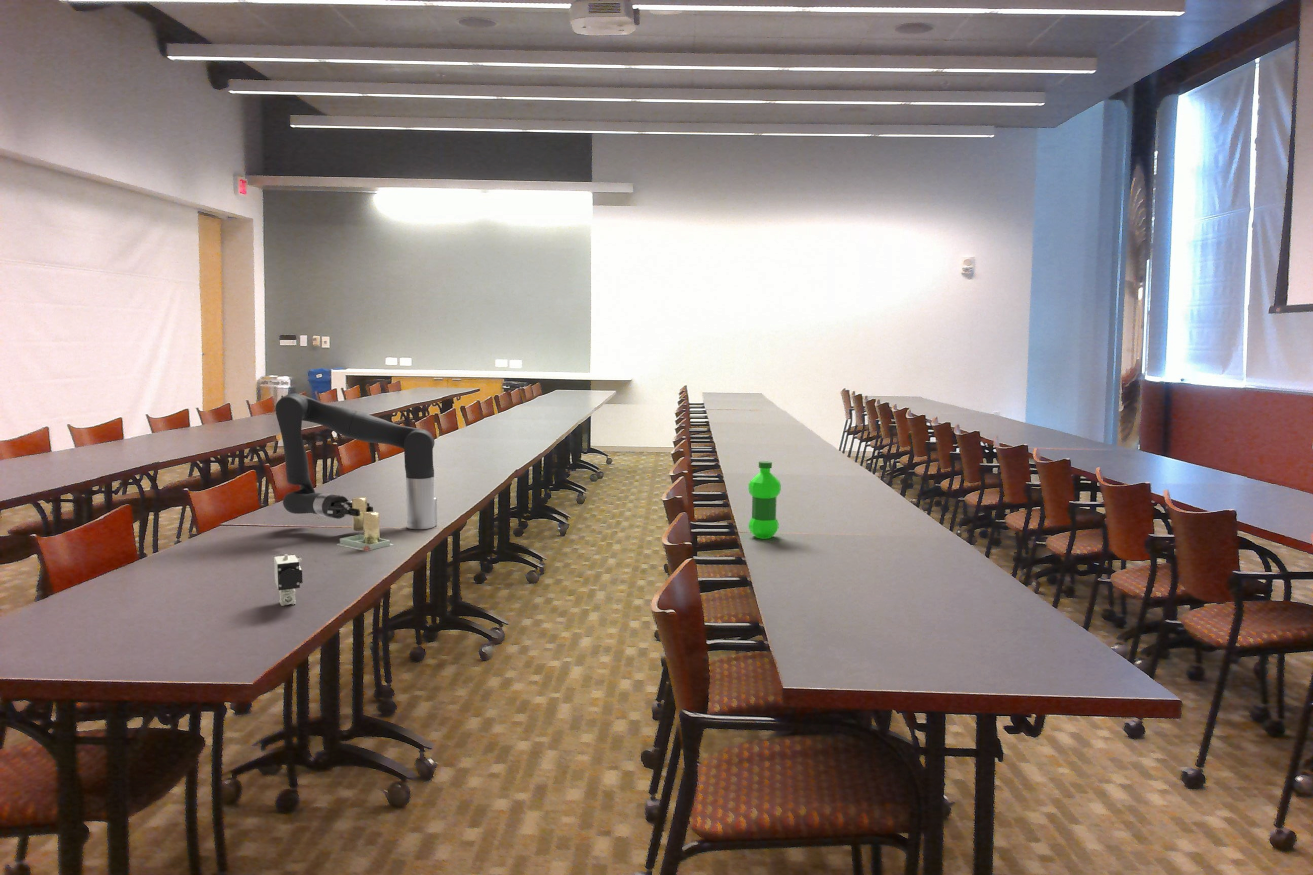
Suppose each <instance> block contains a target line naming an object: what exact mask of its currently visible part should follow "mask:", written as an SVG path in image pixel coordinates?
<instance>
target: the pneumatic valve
mask: <svg viewBox="0 0 1313 875" xmlns="http://www.w3.org/2000/svg"><path fill="white" fill-rule="evenodd" d="M300 563H302V558H301V557H297V556H296V555H295V553H293V554H282V555H275V556H273V571H274V574H273V576H274V583H275V585H276V588H277V590H278V592H279V601H278V602H279V604H280V606H281V607H284V606H288V605H293V606H294V604H295V605H296V604H297V601H296V594H297V592H296V589H300V588H301V586H300V585H301V584H303V569H302V568H301V566H300Z"/></svg>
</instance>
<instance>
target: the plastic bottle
mask: <svg viewBox="0 0 1313 875" xmlns="http://www.w3.org/2000/svg"><path fill="white" fill-rule="evenodd" d="M772 467H773V462H772V461H768V460H767V461H764V460H763V461H758V469H760V471H759V473H757V474H756V475H755V476H754V477H753V478H752V479H751V480H750V481H749V484H748V491H749V492H748V493H749V494H750V495H751V497H752V499H751V500H752V501H751V505H752V506H751V518H750V521H749V523H748V529H749V531H750V533H751V534H752V535H753V536H754V537H755V538H757V539H761V540H762V539H763V540H768V539H771V538H772V537H774V536H775V534H776V533H777V532H778V530H779V528H780V527H779V526H780V525H779V521H778V519H777V499H778V496H779V495H780V493H781V488H782V487H781V486H782V485H781V482H780V480H779V479H778V478H777V477H776V476H775V475H774V474H772V473H771V469H772Z"/></svg>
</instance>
